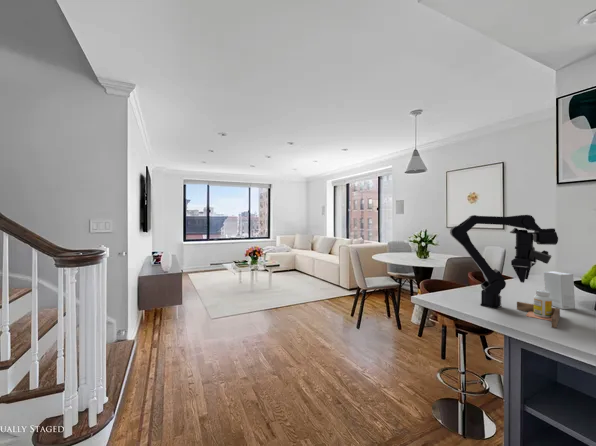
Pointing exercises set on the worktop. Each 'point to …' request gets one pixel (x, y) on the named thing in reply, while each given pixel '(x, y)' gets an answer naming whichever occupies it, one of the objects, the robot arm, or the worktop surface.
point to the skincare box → (560, 289)
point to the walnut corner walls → (531, 308)
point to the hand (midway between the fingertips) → (524, 280)
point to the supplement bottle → (542, 304)
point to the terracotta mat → (531, 314)
